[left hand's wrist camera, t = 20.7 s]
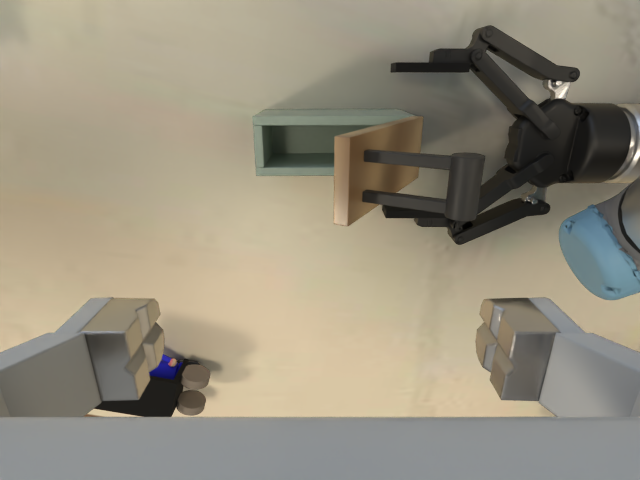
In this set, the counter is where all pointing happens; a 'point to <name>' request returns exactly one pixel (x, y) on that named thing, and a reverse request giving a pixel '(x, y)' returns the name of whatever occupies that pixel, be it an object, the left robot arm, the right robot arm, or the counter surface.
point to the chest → (308, 137)
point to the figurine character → (167, 391)
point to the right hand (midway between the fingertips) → (388, 143)
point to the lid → (399, 173)
